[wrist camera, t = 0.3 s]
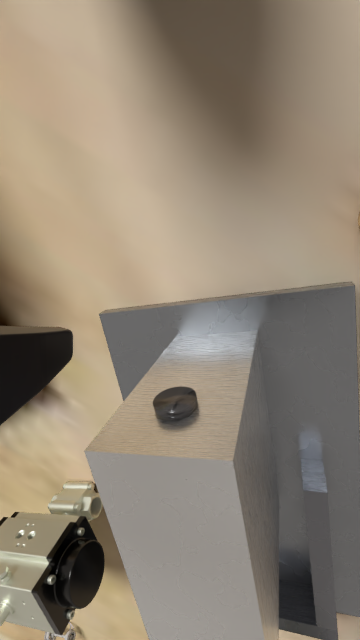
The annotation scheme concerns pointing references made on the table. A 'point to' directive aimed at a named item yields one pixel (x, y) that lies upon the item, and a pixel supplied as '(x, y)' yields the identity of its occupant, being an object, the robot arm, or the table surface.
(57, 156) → the table surface
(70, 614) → the pneumatic valve
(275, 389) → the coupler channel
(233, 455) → the block
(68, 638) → the plant cuttings
